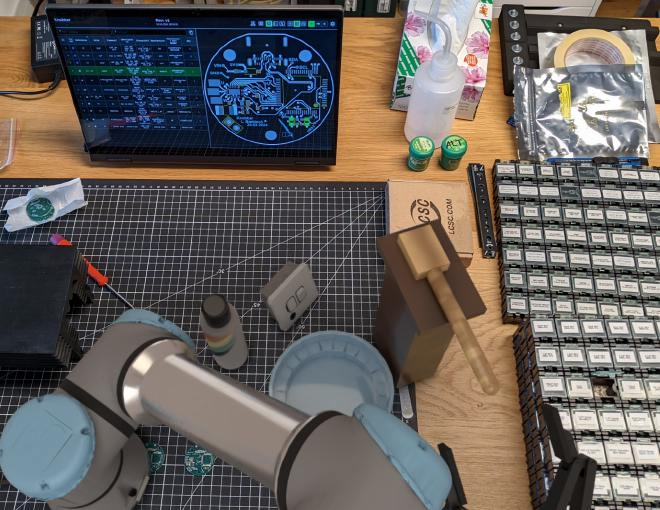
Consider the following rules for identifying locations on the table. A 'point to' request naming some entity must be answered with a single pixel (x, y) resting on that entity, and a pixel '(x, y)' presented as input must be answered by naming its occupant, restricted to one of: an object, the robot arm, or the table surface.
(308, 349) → the bowl
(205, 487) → the table surface
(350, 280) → the table surface
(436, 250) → the wooden mallet
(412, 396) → the table surface
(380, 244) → the stand
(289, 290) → the electrical switch
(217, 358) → the lotion bottle
